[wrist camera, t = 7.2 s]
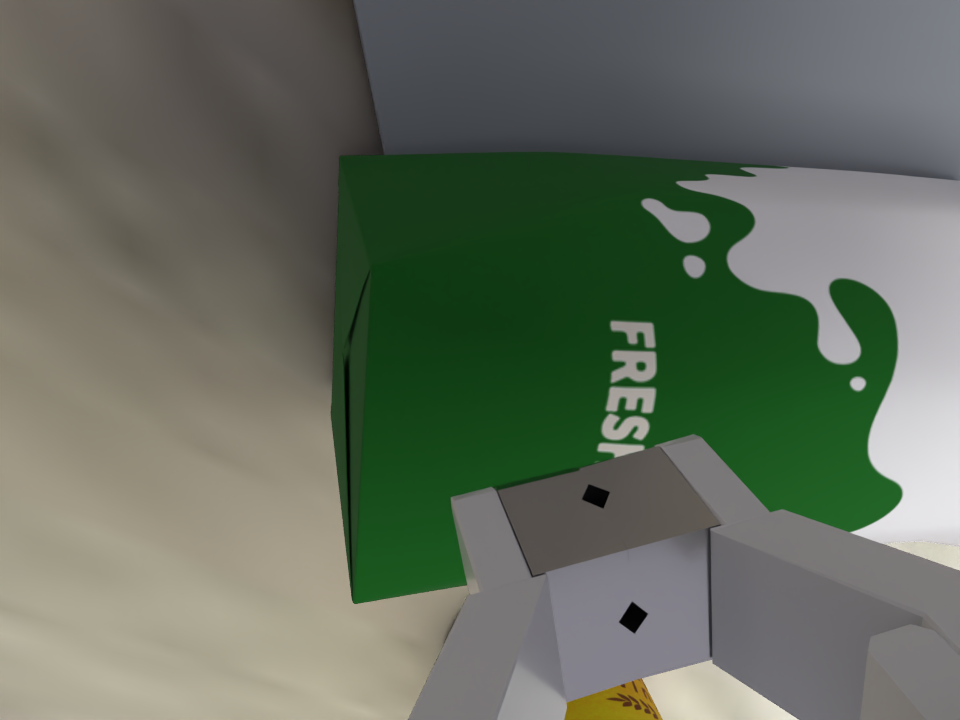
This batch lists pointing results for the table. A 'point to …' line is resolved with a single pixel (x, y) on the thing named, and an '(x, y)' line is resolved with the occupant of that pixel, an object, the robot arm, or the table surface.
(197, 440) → the table surface
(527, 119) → the mat
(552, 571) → the robot arm
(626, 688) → the beer can
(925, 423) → the white carton
